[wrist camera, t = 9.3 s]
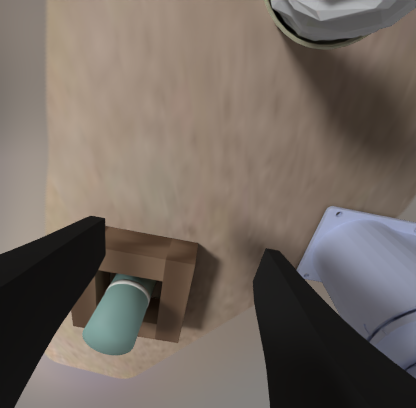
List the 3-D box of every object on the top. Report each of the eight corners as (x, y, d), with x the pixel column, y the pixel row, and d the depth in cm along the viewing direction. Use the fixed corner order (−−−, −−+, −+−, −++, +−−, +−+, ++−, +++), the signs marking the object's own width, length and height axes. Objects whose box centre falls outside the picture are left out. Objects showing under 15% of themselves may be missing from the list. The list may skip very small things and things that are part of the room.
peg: (159, 263, 23) (135, 327, 16) (156, 291, 25) (133, 358, 18) (119, 256, 23) (80, 318, 16) (119, 284, 24) (83, 350, 18)
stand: (198, 243, 21) (195, 265, 19) (182, 317, 26) (178, 342, 24) (82, 221, 21) (62, 241, 18) (88, 301, 26) (73, 325, 23)
